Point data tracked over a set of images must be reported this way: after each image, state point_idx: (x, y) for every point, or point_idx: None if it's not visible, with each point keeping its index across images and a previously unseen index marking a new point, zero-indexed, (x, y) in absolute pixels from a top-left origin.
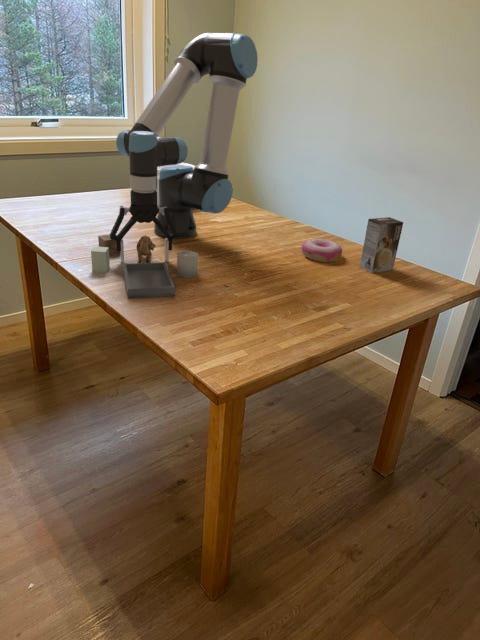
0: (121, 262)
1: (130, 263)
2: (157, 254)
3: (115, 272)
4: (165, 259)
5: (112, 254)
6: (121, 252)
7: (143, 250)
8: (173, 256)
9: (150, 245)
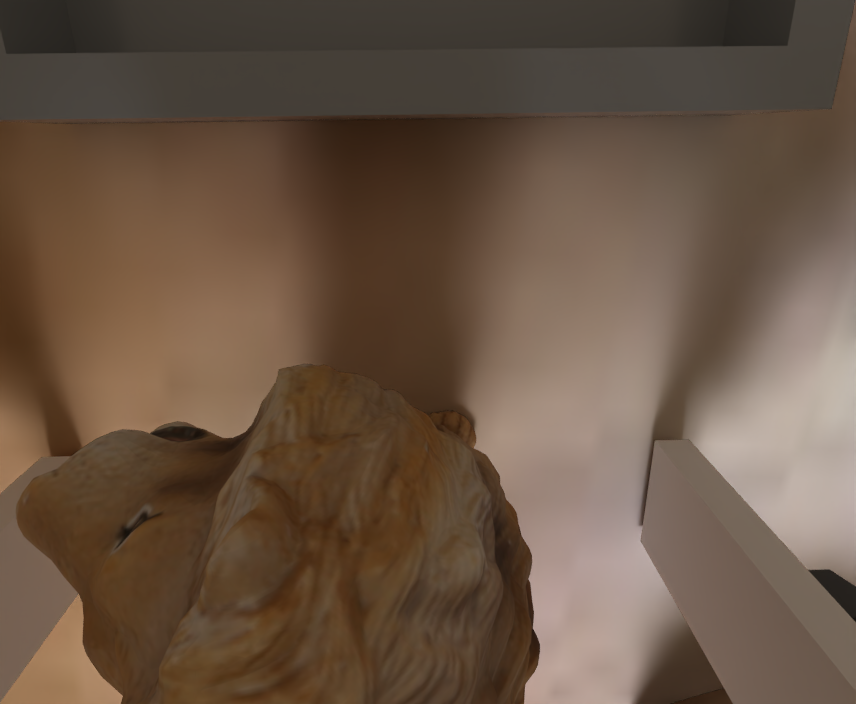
0: (689, 450)
1: (687, 95)
2: None
3: (849, 109)
4: None
5: (725, 691)
6: (772, 538)
7: (400, 400)
8: None
9: (173, 486)
